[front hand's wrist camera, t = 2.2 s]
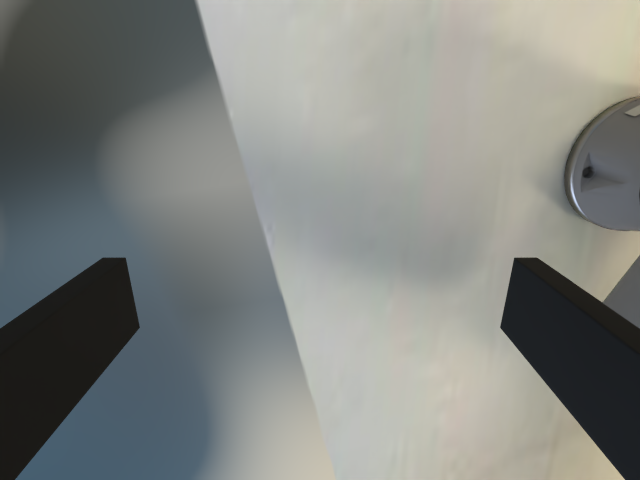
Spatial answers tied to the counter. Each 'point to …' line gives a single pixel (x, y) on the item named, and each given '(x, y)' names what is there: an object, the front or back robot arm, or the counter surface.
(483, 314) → the counter surface
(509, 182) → the counter surface
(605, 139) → the front robot arm
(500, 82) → the counter surface
